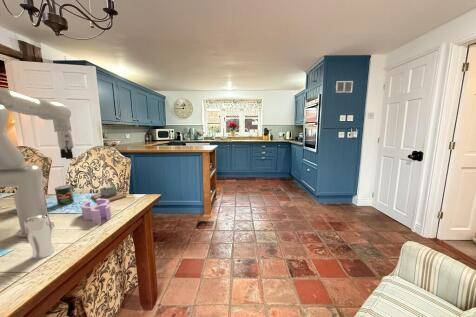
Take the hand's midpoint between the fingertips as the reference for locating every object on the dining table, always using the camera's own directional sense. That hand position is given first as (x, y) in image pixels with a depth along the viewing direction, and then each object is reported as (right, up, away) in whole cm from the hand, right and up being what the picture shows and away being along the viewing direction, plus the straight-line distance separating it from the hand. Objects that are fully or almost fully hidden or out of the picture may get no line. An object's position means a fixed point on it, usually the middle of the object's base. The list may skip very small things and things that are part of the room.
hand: (67, 158), depth 119 cm
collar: (+14, -25, +16) cm, 33 cm away
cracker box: (-22, -30, +5) cm, 37 cm away
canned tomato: (-7, -29, +7) cm, 31 cm away
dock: (+14, -27, +17) cm, 35 cm away
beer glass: (+27, -37, -42) cm, 62 cm away
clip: (+26, -32, -10) cm, 42 cm away
